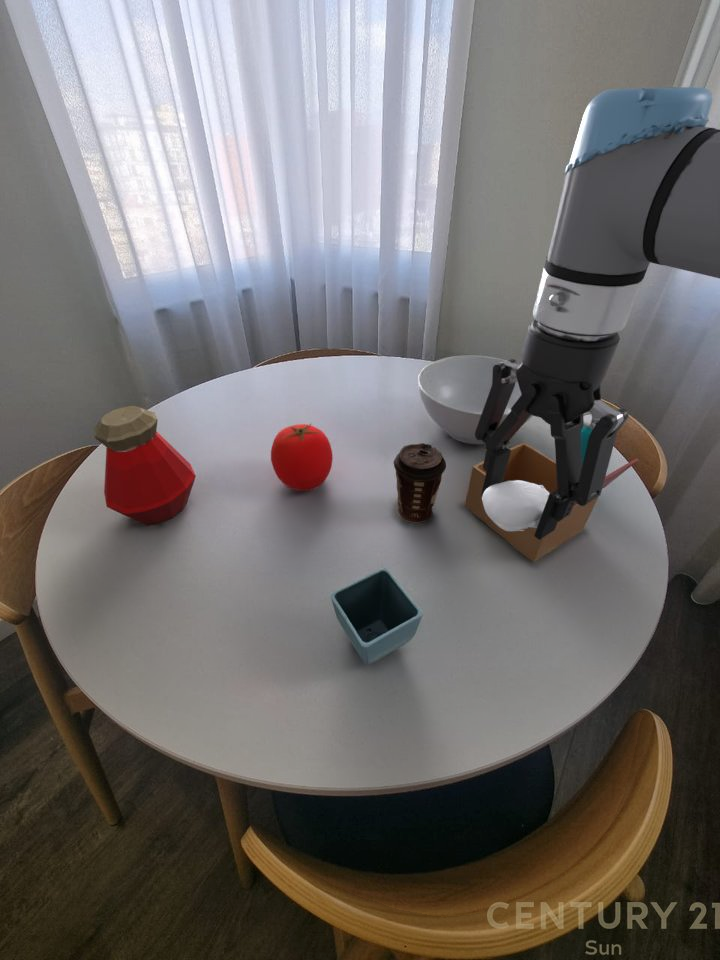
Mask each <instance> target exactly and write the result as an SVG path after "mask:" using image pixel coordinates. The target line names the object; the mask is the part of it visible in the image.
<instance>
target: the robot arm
mask: <svg viewBox="0 0 720 960" xmlns="http://www.w3.org/2000/svg"><path fill="white" fill-rule="evenodd" d="M712 104H713V94H712V92H711V90H710V89H708V88H706V87H692V86H687V87H686V86H681V87H680V86H679V87H654V88H653V87H650V88H646V87H645V88H644V87H640V88H639V87H638V88H637V87H635V88H634V87H633V88H630V87H629V88H615V89H614V88H613V89H607V90H604V91H602V92H600V93H598V94H597V95H595V97H593V98H592V99H591V101H590V102H589V103H588V105H586V108H585V110H584V113H583V115H582V119H581V121H580V125H579V128H578V133H577V135H576V139H575V142H574V145H573V149H572V152H571V157H570V159H569V162H568V164H567V165H566V167H565V170H564V175H565V176H564V180H563V185H562V189H561V195H560V199H559V203H558V208H557V213H556V217H555V218H556V219H555V222H554V227H553V232H552V236H551V240H550V245H549V249H548V254H547V256H545V257H546V258H545V262H544V266H543V269H542V273H541V277H540V281H539V285H538V289H537V294H536V297H535V301H534V306H533V310H532V317H533V318H534V320H532V321H531V322H530V323H529V325H528V329H527V332H526V337H525V340H524V344H523V349H522V352H521V364H520V363H518V362H517V360H516V359H515V358H510V359H507V361H504V362H502V363H499V364H496V365H494V367H493V375H492V386H491V389H490V392H489V395H488V398H487V400H486V403H485V406H484V409H483V412H482V414H481V417H480V420H479V423H478V426H477V428H476V431H475V437H476V439H477V440H482V441H483V442H484V443H485V444H484V448H485V454H484V459H483V461H484V463H483V469H484V470H485V471H486V476H485V480H484V485H483V489H482V493H481V496H483V493H484V491H485V490H486V489H487V488H488V487H490V486H492V485H494V484H498V483H502V482H503V479H504V475H505V471H506V467H507V464H508V460H509V456H510V453H511V450H510V449H511V448H509V447H506V446H507V445H509V444H510V443H511V440H512V439H513V437H514V436H515V435H516V433H518V432H519V430H520V429H521V428H522V427H523V426H524V425H525V424H526V423H527V422H528V421H527V419H528V418H529V417H530V416H531V415H533V416H532V417H538V418H540V419H541V420H543V421H544V422H545V423H546V424H548V425H549V429H550V436H551V437H552V438H553V439H554V453H555V462H556V472H557V490H555V491H553V492H552V493H550V494H549V497H548V499H547V502H546V505H545V508H544V510H543V513H542V516H541V518H540V521H539V524H538V526H537V529H536V532H535V535H534V536H535V537H536V538H537V539H539V540H540V539H542V538H543V537H545V536H546V535H548V534H549V533H551V532H552V531H554V530H555V528H556V525H557V523H558V521H561V520H562V519H564V518H565V517H567V516H568V515H570V513H571V510H572V508H573V506H574V504H575V501H576V502H577V504H579V505H580V506H584V505H586V504H588V503H589V502H591V501H592V500H594V499H595V498H597V497H598V496H599V497H600V496H601V494H602V491H603V489H604V488H603V484H604V480H605V476H607V473H608V469H609V464H610V461H611V457H612V453H613V450H614V445H615V441H616V438H617V434H618V432H619V431H620V429H622V428H623V426H624V425H625V423H626V422H627V420H628V418H629V415H630V414H629V412H628V410H627V409H625V408H621V407H620V408H616V409H614V408H613V407H611V406H610V405H609V404H607V403H606V402H604V401H603V400H602V391H601V390H602V387H601V386H602V383H603V381H604V379H605V378H606V375H607V373H608V371H609V368H610V366H611V363H612V360H613V358H614V356H615V353H616V350H617V347H618V345H619V343H620V340H621V338H620V334H619V332H621V331H622V330H624V329H625V328H626V326H627V323H628V321H629V318H630V315H631V312H632V309H633V307H634V305H635V301H636V299H637V296H638V293H639V291H640V288H641V286H642V282H643V280H644V279H645V277H646V274H647V271H648V268H649V266H650V264H655V265H659V266H666V267H670V268H674V269H678V270H683V271H686V272H690V273H693V274H694V273H695V274H699V275H703V276H707V277H712V278H716V279H720V129H718V128H715V127H711V126H710V127H708V126H706V125H707V123H709V114H710V111H711V109H712ZM517 381H518V384H519V388H520V391H521V396H520V397H519V399H518V400H517V401H516V402H515V404H514V405H513V406H512V408H511V412H510V413H509V414H508V416H507V417H506V418H505V419H504V421H503V422H502V423H501V425H500V426H499V424H500V421H501V419H502V416H503V414H504V412H505V409H506V407H507V404H508V402H509V399H510V397H511V394H512V392H513V389H514V387H515V383H516V382H517ZM587 412H590V413H591V414H592V421H591V423H590V428H592V429H593V430H592V432H591V434H590V436H589V439H588V443H587V447H586V452H585V456H584V461H583V465H582V450H581V430H582V429H583V426H584V419H583V414H584V413H587ZM526 421H527V422H526ZM525 422H526V423H525ZM524 423H525V424H524ZM523 424H524V425H523ZM522 425H523V426H522ZM498 426H499V427H498ZM602 488H603V489H602ZM599 497H598V498H599Z"/></svg>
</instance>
